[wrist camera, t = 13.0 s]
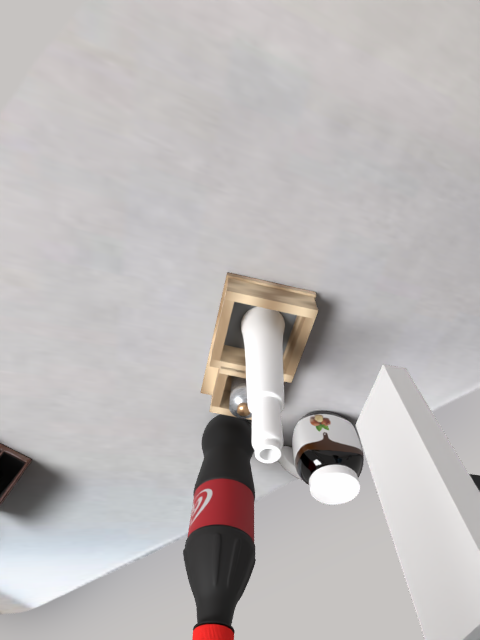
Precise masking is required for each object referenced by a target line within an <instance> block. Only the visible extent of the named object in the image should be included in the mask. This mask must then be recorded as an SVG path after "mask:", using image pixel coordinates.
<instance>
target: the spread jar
mask: <svg viewBox="0 0 480 640" xmlns="http://www.w3.org/2000/svg"><path fill="white" fill-rule="evenodd" d="M278 461H279V463H280V464H281V465H282V466H283V467H284V468H285V469H286V470H287V471H288V472H289V473H290V474H292V475H293V476H295V477H297V478H298V479H301V480H303V481H304V482H305V483H307V484H308V485H309V486H310V492H311V495H312V496H313V498H314V499H316V500H317V501H319V502H321V503H324V504H329V505H337V504H343V503H346V502H348V501H350V500H352V499H353V498H355V497H356V496H357V495H358V493H359V491H360V483H359V480H358V477H359V476H360V473H361V471H362V467H363V450H362V446H361V443H360V440H359V437H358V434H357V432H356V430H355V428H354V426H353V425H352V424H351V423H350V422H349V421H348V420H347V419H345V418H343V417H342V416H340V415H337V414H335V413H332V412H327V411H318V412H313V413H310V414H308V415H306V416H304V417H303V418H301V419H300V420H299V421H298V423H297V425H296V427H295V429H294V432H293V438H292V448H291V447H288V446H283V447H282V449H281V457H280V459H279V460H278Z"/></svg>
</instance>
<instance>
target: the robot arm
mask: <svg viewBox="0 0 480 640" xmlns="http://www.w3.org/2000/svg"><path fill="white" fill-rule="evenodd" d="M356 428H357V431H358V434H359V437H360V440H361V443H362V447H363V450H364V453H365V456H366V459H367V462H368V465H369V468H370V471H371V475H372V477H373V481H374V484H375V487H376V490H377V493H378V496H379V499H380V502H381V505H382V508H383V512H384V515H385V518H386V521H387V524H388V527H389V530H390V533H391V536H392V539H393V543H394V546H395V549H396V552H397V555H398V558H399V561H400V564H401V567H402V570H403V574H404V577H405V580H406V583H407V586H408V589H409V592H410V595H411V598H412V601H413V605H414V608H415V611H416V614H417V617H418V620H419V623H420V626H421V629H422V633H423V636H424V639H425V640H480V476H479V475H472V474H469V473H468V472H467V470H466V468H465V467H464V465H463V463H462V462H461V460H460V458H459V457H458V455H457V453H456V452H455V450H454V449H453V446H452V445H451V443H450V442H449V440H448V438H447V437H446V435H445V433H444V431H443V430H442V428H441V426H440V425H439V423H438V421H437V420H436V418H435V416H434V415H433V413H432V411H431V410H430V408H429V406H428V405H427V403H426V401H425V400H424V398H423V396H422V395H421V393H420V391H419V390H418V388H417V386H416V385H415V383H414V381H413V380H412V378H411V376H410V375H409V373H408V371H407V370H406V368H402V367H396V366H390V365H384V364H383V365H382V368H381V370H380V372H379V374H378V376H377V379H376V381H375V383H374V385H373V387H372V390H371V392H370V394H369V396H368V398H367V401H366V403H365V405H364V407H363V409H362V412H361V414H360V416H359V418H358V420H357V422H356Z"/></svg>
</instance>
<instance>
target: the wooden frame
mask: <svg viewBox="0 0 480 640" xmlns="http://www.w3.org/2000/svg"><path fill="white" fill-rule="evenodd" d="M315 298H316V293H315V292H313V291H308V290H304V289H300V288H295V287H291V286H286V285H282V284H277V283H273V282H268V281H264V280H259V279H255V278H250V277H246V276H241V275H237V274H232V273H228V272H227V276H226V280H225V285H224V289H223V294H222V298H221V303H220V307H219V312H218V316H217V321H216V325H215V330H214V334H213V339H212V343H211V348H210V352H209V357H208V361H207V366H206V370H205V375H204V379H203V384H202V388H201V393H204V394H209V395H212V400H211V406H210V412H213V413H218V414H223V415H228V416H233V417H236V416H234V415H233V414H232V413H231V412H230V410H229V402H230V391H231V379H232V376H236V377H241V378H246V360H245V346H244V339H243V335H242V331H241V320H242V318H243V316H244V315H245V313H246V312H247V311H249V310H250V309H252V308H254V307H262V308H266V309H271V310H275V311H278V312H279V313H280V314H281V315H282V316H283V318H284V322H285V329H284V334H283V376H284V383H285V382H290V383H291V382H292V380H293V377H294V374H295V372H296V369H297V366H298V364H299V361H300V358H301V356H302V353H303V350H304V348H305V345H306V342H307V340H308V337H309V334H310V332H311V329H312V326H313V324H314V321H315V318H316V316H317V313H318V308H317V305H316V302H315ZM247 419H249V420H252V417H251V418H247Z"/></svg>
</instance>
